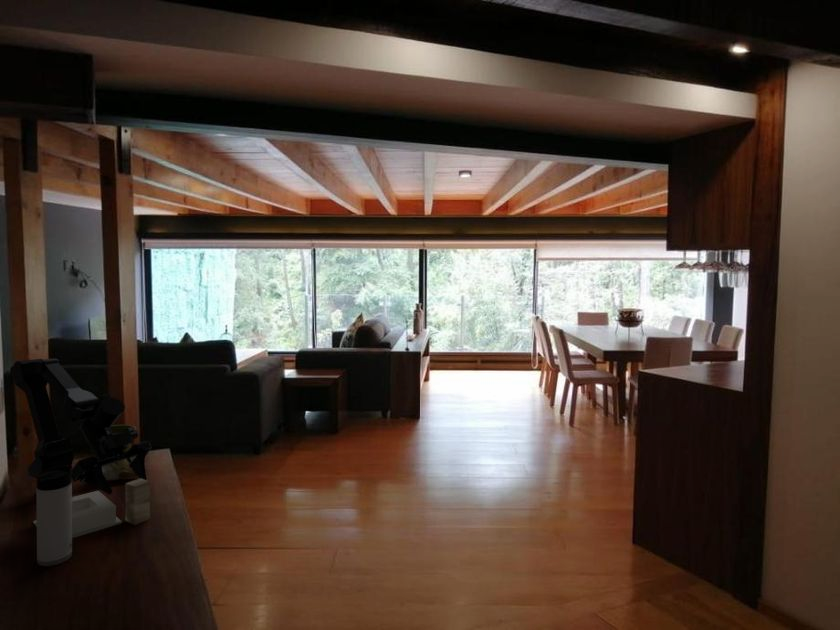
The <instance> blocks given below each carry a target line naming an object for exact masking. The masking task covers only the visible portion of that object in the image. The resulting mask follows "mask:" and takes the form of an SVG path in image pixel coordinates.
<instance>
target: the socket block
mask: <svg viewBox="0 0 840 630" xmlns="http://www.w3.org/2000/svg"><path fill="white" fill-rule="evenodd" d="M122 523H123V521H122V520H121V519H120V518H119V517H117V505H116V504H114V503H113V502H112V501H111V500H110V499H109V498H108V497H106V496H105V495H104V494H103V493H101V491H100V490H95V491H92V492H88V493H84V494H80V495H75V496H72V539H74V538H79V537H81V536H84V535H88V534H91V533H94V532H98V531H101V530H104V529H107V528H111V527H114V526H117V525H118V526H119V525H121V524H122ZM33 524H34V526H35V527H36V528H37V519H36V520H33Z"/></svg>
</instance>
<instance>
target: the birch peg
mask: <svg viewBox="0 0 840 630" xmlns="http://www.w3.org/2000/svg"><path fill="white" fill-rule="evenodd" d="M124 492H125V500H124V501H125V503H124V504H125V507H124V508H125V517H124V519H125V522H127V523H129V524H131V525H134V526H135V525H138V524H141V523H143V522H146V521H149V520H150V519H151V512H150V511H151V481H149V480H147V479H146V480H144V479H142V478H137V479H134V480H131V481H128V482H125V491H124Z"/></svg>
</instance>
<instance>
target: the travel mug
mask: <svg viewBox="0 0 840 630" xmlns="http://www.w3.org/2000/svg"><path fill="white" fill-rule="evenodd" d="M72 469H73V466H70V465H64V466H60V467H54V468H50V469H47V470H45V471H43V472H41V473H39V474H38V475H37V478H36V491H37V492H36V491H35V496H36V495H37V500H36V520H37V527H36V562H37V563H36V564H38V566H40V567H53V566H56V565H61V564H63V563H64V562H66V561H68V560H69V559H70V558H72V555H73V538H72V497H73V486H72V485H73V484H72V483H73V480H72V478H71V470H72Z"/></svg>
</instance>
